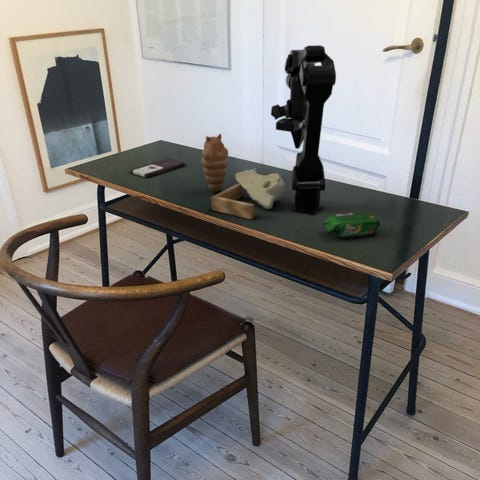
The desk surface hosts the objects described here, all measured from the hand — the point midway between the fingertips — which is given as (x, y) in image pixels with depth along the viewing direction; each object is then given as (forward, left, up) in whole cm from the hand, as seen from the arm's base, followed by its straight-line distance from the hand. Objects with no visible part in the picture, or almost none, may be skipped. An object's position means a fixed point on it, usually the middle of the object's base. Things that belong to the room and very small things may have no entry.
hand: (297, 148), depth 167 cm
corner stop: (+4, +25, -12) cm, 28 cm away
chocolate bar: (+51, +10, -12) cm, 53 cm away
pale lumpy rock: (+3, +20, -12) cm, 24 cm away
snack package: (-31, +27, -12) cm, 43 cm away
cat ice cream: (+19, +19, -12) cm, 30 cm away
